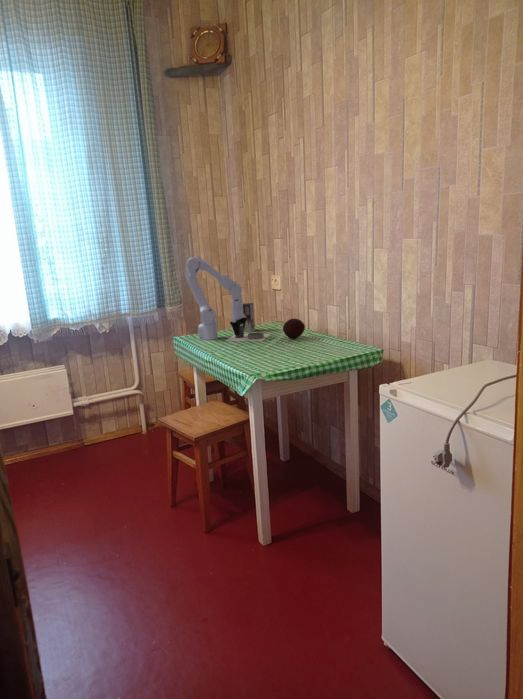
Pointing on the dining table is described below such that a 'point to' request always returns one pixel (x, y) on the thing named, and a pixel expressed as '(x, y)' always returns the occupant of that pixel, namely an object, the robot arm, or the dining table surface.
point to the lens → (241, 333)
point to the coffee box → (249, 317)
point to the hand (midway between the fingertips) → (239, 333)
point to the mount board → (250, 337)
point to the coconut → (293, 328)
